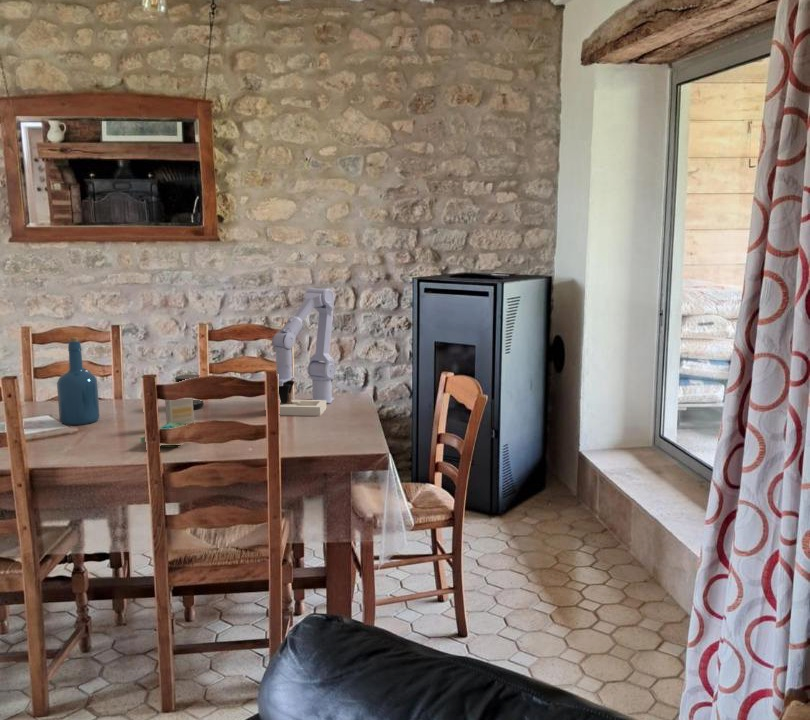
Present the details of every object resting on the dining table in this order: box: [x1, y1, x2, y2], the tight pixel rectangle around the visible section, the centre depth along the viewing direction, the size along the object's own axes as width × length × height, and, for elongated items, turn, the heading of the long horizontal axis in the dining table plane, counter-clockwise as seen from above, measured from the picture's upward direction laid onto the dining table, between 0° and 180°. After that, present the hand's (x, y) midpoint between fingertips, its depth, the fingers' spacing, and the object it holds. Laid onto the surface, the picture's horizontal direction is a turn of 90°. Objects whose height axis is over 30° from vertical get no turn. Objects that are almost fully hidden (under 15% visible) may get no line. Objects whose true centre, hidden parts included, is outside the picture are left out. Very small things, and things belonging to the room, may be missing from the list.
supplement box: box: [164, 399, 195, 424], centre depth 276 cm, size 8×5×13 cm, turn 124°
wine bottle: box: [56, 336, 101, 426], centre depth 285 cm, size 14×13×30 cm
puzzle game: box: [140, 423, 189, 448], centre depth 260 cm, size 12×5×20 cm
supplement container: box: [174, 374, 205, 411], centre depth 307 cm, size 10×10×12 cm
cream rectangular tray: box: [279, 399, 327, 417], centre depth 300 cm, size 12×20×3 cm, turn 85°
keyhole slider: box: [282, 392, 293, 404], centre depth 300 cm, size 6×6×6 cm
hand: (285, 401), depth 300 cm, fingers closed on keyhole slider, 3 cm apart
